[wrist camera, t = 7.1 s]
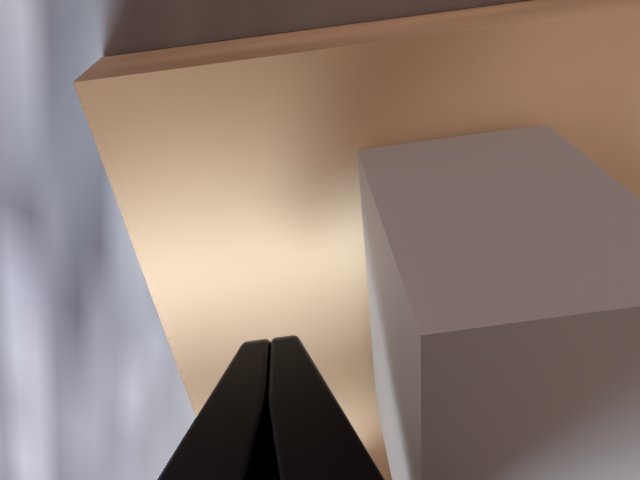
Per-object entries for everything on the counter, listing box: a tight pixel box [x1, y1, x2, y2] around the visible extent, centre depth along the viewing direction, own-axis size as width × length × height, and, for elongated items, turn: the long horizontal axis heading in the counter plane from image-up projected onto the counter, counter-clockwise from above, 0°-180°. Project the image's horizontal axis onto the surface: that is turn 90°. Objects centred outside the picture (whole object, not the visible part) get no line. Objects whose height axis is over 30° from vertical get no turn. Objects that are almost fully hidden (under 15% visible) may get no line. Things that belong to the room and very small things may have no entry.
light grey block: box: [357, 125, 640, 480], centre depth 8 cm, size 6×5×4 cm
